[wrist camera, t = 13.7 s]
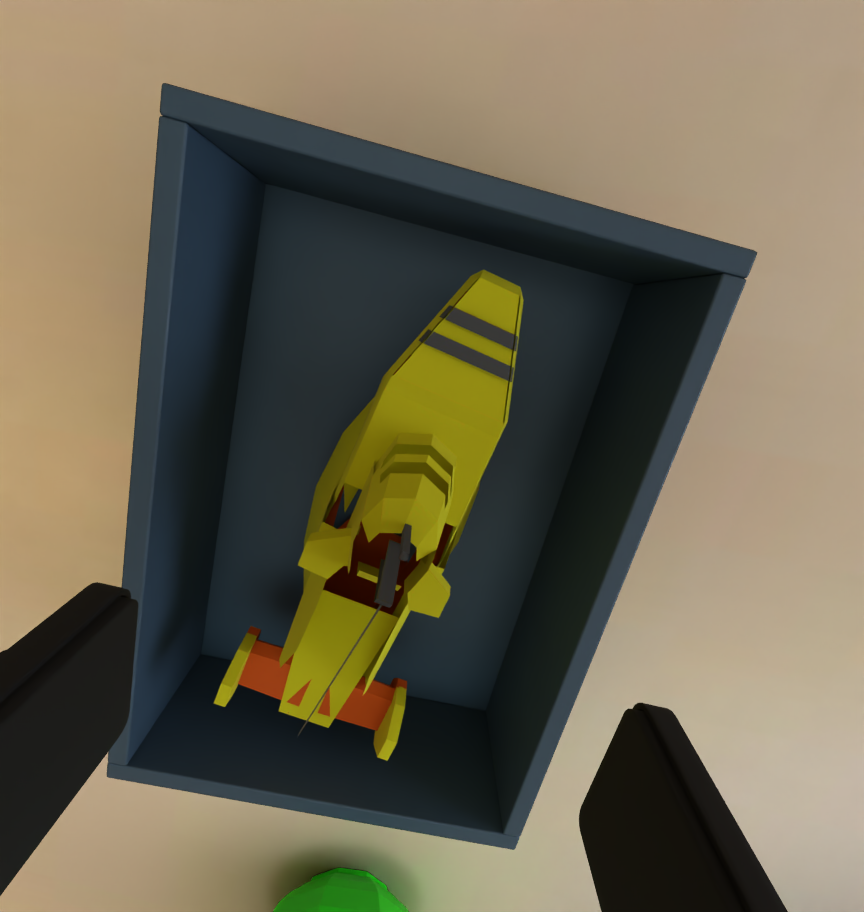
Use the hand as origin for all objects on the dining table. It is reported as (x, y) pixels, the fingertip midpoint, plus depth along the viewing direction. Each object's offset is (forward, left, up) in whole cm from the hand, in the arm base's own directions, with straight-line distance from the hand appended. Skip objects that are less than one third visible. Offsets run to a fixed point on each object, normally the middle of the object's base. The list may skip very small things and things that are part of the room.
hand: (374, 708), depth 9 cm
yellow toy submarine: (0, 0, -12) cm, 12 cm away
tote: (0, 0, -13) cm, 13 cm away
